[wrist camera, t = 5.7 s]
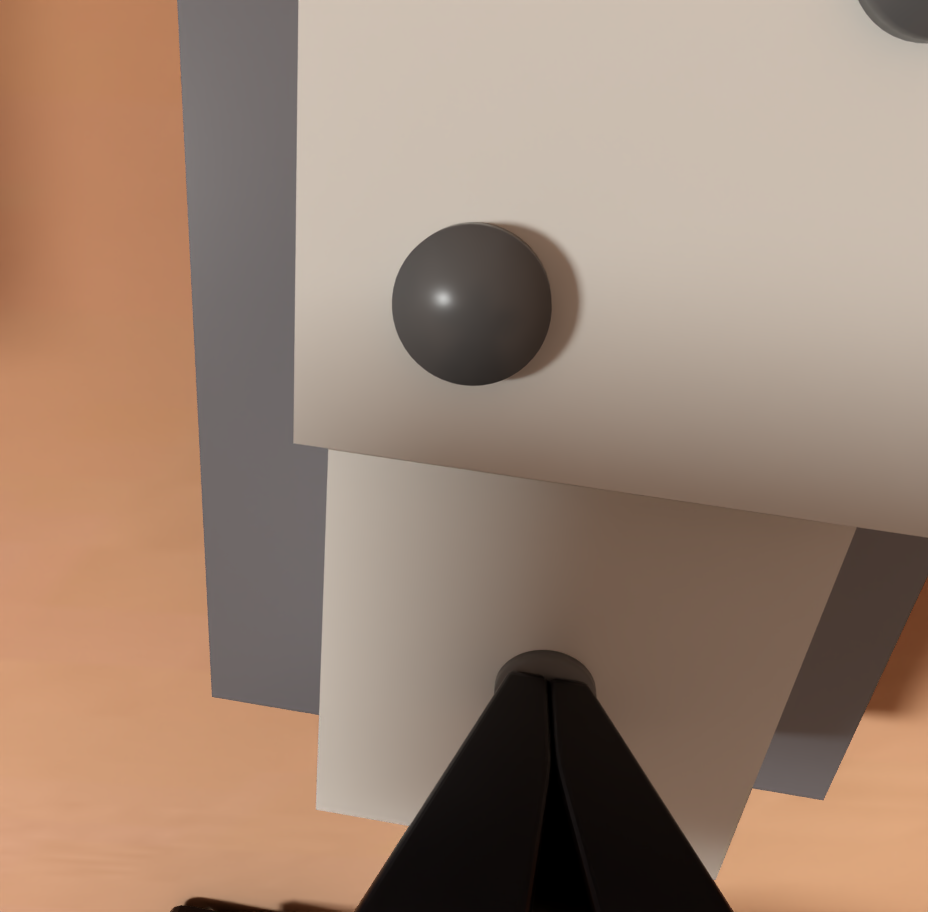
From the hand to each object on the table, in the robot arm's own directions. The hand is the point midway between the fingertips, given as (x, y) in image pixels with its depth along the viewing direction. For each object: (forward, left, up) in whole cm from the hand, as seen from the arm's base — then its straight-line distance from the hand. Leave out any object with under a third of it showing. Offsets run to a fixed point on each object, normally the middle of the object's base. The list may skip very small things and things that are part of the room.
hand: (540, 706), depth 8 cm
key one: (0, 0, -2) cm, 2 cm away
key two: (+6, 0, -1) cm, 6 cm away
